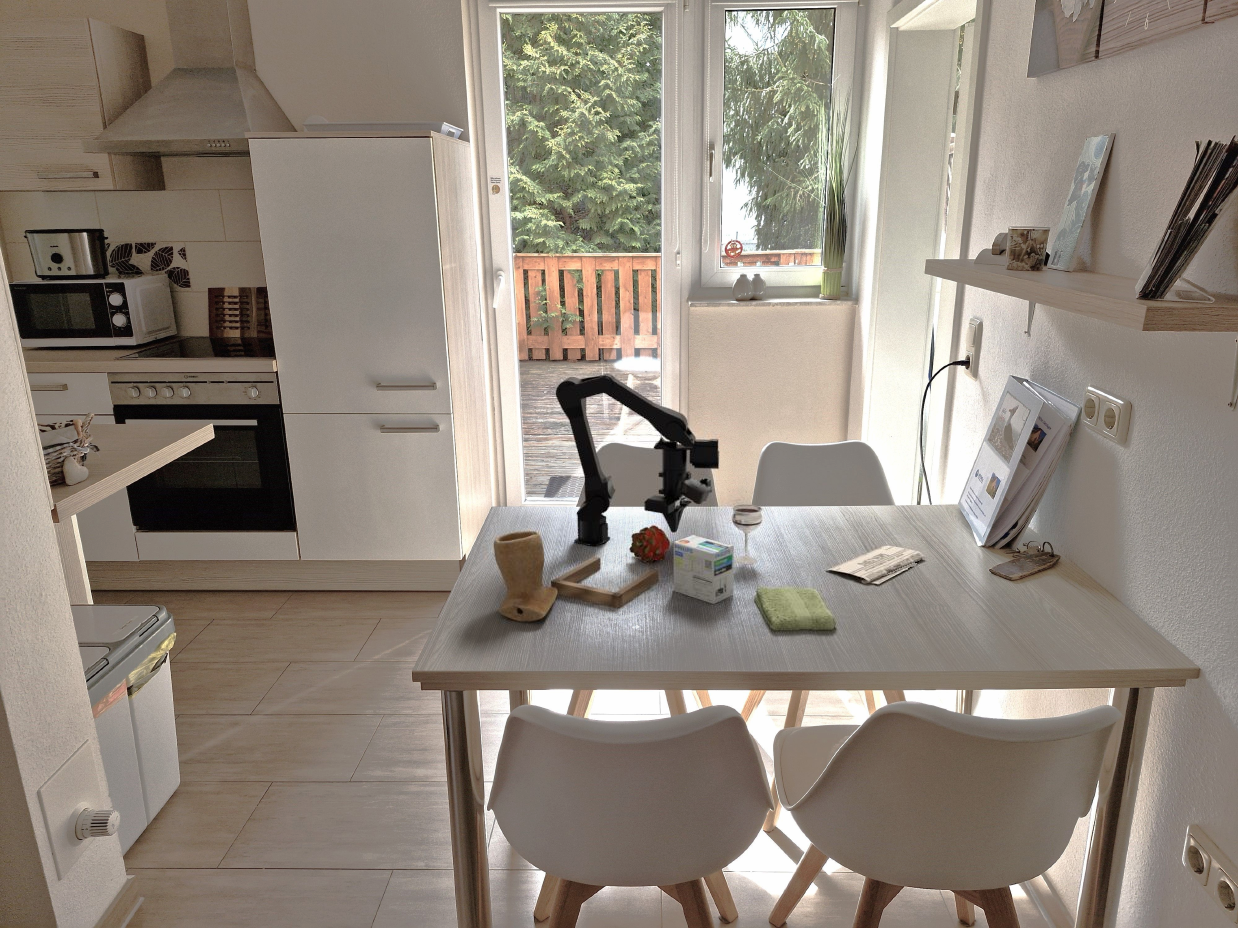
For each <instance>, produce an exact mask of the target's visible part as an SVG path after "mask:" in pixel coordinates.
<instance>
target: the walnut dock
mask: <svg viewBox="0 0 1238 928" xmlns="http://www.w3.org/2000/svg"><path fill="white" fill-rule="evenodd" d="M601 564H602V563H601V557H599V556H593V557H591V558H590V559H588V560H586V561H584V562H582V563H581V564H579V565H578V566H575V567H573V568H572V569H570V570H568V571H566V572H565V573H563V574H561V575H559V576H557V577H556V578H553V579H552V580H551V581H550V587H553V588H556V589H557V592H558V593H557V595H561V596H565V597H569V598H573V599H578V600H581V601H585V602H590V603H594V604H598V605H599V604H600V605H602V606H603V605H604V606H607V607H612V608H617V609H620V608H621V607H623V606H624V605H625V604H627V603H629V602H630V601H631V600H633V599H634V598H636V597H637V596H639V595H640V594H641V593H643V592H644V591H646V590H648V589H649V588H651V587H652V586H653V585H655V584H656V583H658V582H659V581H660V570H659V569H658V568H651V569H649V570H648V571H647V572H644V573H643V574H641V575H640V576H638V577H637V578H635V579H634V580H632V581H631V582H629V583H628V584H626V585H625V586H623V587H621V588H620V589H618V590H617V591H612V590H606V589H602V588H598V587H594V586H589V585H586V584H580V583H579V582H580V581H582V580H584V579H586V578H587V577H589V576H590V575H592V574H594V573H595V572H597V571H599V570H601Z"/></svg>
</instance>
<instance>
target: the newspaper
mask: <svg viewBox="0 0 1238 928" xmlns="http://www.w3.org/2000/svg"><path fill="white" fill-rule="evenodd" d="M925 557H926V556H925V555H924V554H923V553H922V552H921V551H918V550H913V549H910V548H906V547H899V546H894V545H893V546H892V545H883V546H880V547H878V548H876V549H874V550H871V551H868V552H866V553H864V554H862V555H859V556H856V557H855V558H852V559H849V560H847V561H845V562H842V563H839V564H838V565H835V566H833V567H831V568H828V569H826V570H825V571H826V572H831V571H834V572H840V573H844V574H845V573H846V574H850V575H852V576H856V577H860V578H861V579H862V578H863V579H862V580H860V582H861V583H863V584H877V585H880V584H881V583H883V582H885V581H887V580H889V579H891V578H892V577H894V576H896V575H898V574H900V573H902V572H903V571H906V570H909V569H908V568H909V567H906V568H904V569H901V570H898V571H895V570H897V569H899V568H902V567H904V566H907V565H909V564H912V563H914V562H918V561H919V562H920V561H921V559H922V560H924V559H926V558H925ZM893 571H895V572H894V573H892V574H888V573H890V572H893ZM886 574H888V575H886ZM884 575H885V576H884ZM882 576H884V577H882ZM880 577H881V578H880ZM878 578H879V579H878Z"/></svg>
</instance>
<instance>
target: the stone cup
mask: <svg viewBox="0 0 1238 928" xmlns="http://www.w3.org/2000/svg"><path fill="white" fill-rule="evenodd" d="M493 550H494V551H493V552H494V557H495V561H496V562H495V563H496V564H497V566H498V567H497V568H498V569H499V572H500V573H501V574H500V575H501V576H502V579H503V582H504V584H505V586H506V591H507V592H506V593H507V594H506V596H504V599H503V601H502V603H501V605H500V607H499V608H498V612H499V614H501V615H503V616H505V617H506V618H509V619H511V620H514V621H517V622H525V623H526V622H533V621H537V620H541V619H543V618H544V617H545V616H546V615H547V614H548V612H549V610H551V607H552V606H553V604H554V602H555V601H556V598H557V595H558V594H557V593H558V592H557V589H556V588H553V587H551V586H545V585H543V575H544V574H543V572H544V570H543V569H544V566H545V565H544V564H545V551H544V545H543V539H542V537H541V535H540V533H539V532H537V531H533V530H524V531H514V532H508V533H505V534H502V535H500V536H497V537H496V538H495V539H494V541H493Z"/></svg>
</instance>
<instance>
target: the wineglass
mask: <svg viewBox="0 0 1238 928" xmlns="http://www.w3.org/2000/svg"><path fill="white" fill-rule="evenodd" d="M731 509H732V511H733V512H732V514H731V522H732V523H733V525H734V526H735V528H737V529H738V530H739V531H742V532H743V534H744V556H743V555H742V556H741V555H740V556H738V557H735V558H734V562H736V563H738V564H742V565H751V564H756V563H757V562H758V559H757V558H756V557H753V556H748V545H749V534H750V533H751V532H753V531H755V530H757V529H758V528H759V527H760V526H761V524H762V522H763V517H764V516H763V514H762V511H763V507H761V506H759V505H757V504H756V505H755V504H747V503H746V504H737V505H734V506H733V507H732V508H731Z"/></svg>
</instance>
